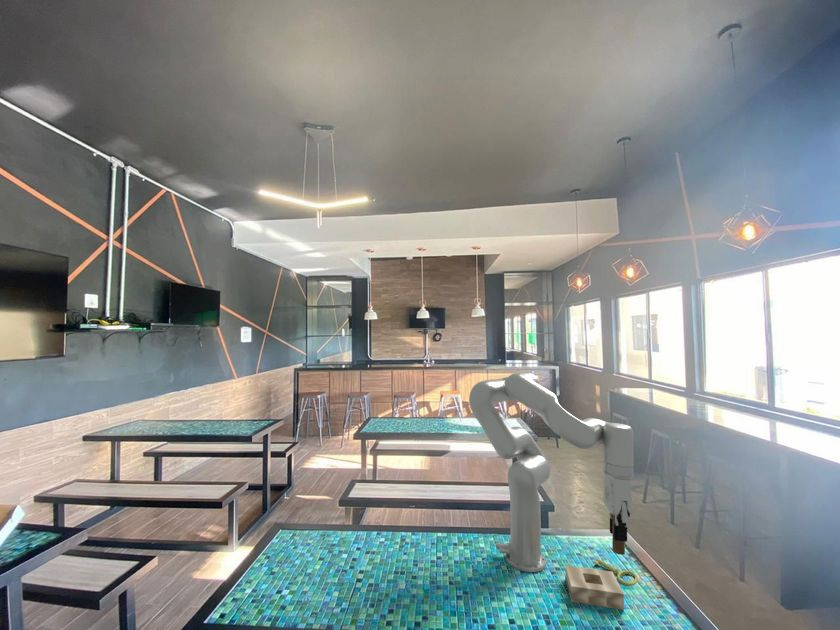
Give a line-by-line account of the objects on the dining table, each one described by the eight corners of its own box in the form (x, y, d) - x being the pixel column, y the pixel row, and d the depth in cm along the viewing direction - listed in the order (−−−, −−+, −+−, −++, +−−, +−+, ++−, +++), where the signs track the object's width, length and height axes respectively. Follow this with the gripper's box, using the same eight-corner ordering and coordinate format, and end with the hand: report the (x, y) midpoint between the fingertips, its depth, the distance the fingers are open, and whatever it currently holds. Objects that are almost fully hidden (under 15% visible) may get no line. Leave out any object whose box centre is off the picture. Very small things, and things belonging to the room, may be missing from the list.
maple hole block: (571, 601, 100) (571, 586, 101) (565, 579, 110) (565, 565, 110) (624, 610, 98) (623, 593, 98) (613, 586, 107) (612, 571, 108)
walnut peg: (614, 553, 101) (614, 515, 102) (611, 547, 104) (611, 511, 105) (626, 555, 101) (626, 517, 101) (622, 549, 104) (622, 512, 104)
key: (595, 563, 119) (595, 556, 120) (639, 578, 112) (639, 571, 112) (590, 574, 114) (590, 567, 114) (636, 590, 106) (636, 583, 106)
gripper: (596, 459, 113) (596, 521, 111) (612, 477, 97) (612, 551, 95) (623, 461, 111) (623, 525, 110) (644, 481, 95) (644, 555, 94)
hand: (618, 536), depth 103 cm, fingers closed on walnut peg, 3 cm apart
